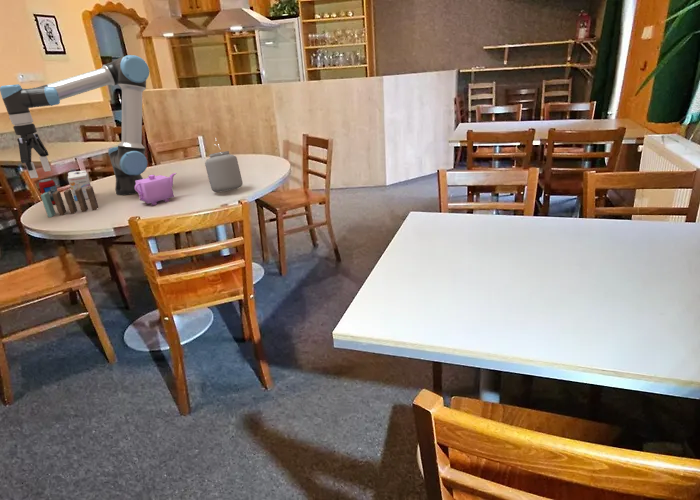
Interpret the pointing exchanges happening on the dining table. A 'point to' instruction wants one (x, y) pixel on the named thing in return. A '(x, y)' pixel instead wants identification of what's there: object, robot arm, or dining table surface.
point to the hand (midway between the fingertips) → (41, 174)
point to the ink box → (79, 182)
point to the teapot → (155, 188)
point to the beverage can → (48, 188)
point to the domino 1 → (48, 204)
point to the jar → (223, 171)
